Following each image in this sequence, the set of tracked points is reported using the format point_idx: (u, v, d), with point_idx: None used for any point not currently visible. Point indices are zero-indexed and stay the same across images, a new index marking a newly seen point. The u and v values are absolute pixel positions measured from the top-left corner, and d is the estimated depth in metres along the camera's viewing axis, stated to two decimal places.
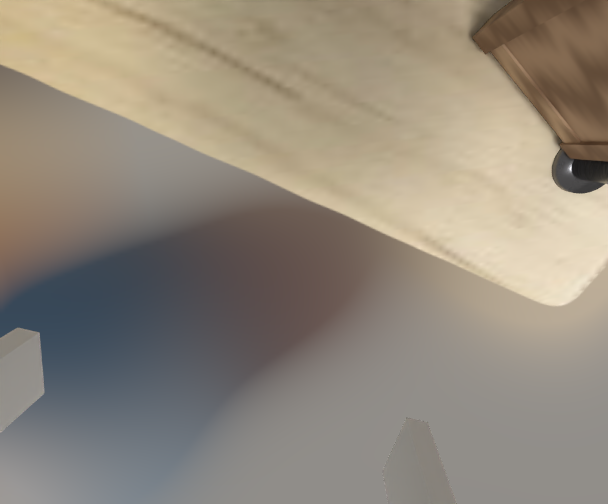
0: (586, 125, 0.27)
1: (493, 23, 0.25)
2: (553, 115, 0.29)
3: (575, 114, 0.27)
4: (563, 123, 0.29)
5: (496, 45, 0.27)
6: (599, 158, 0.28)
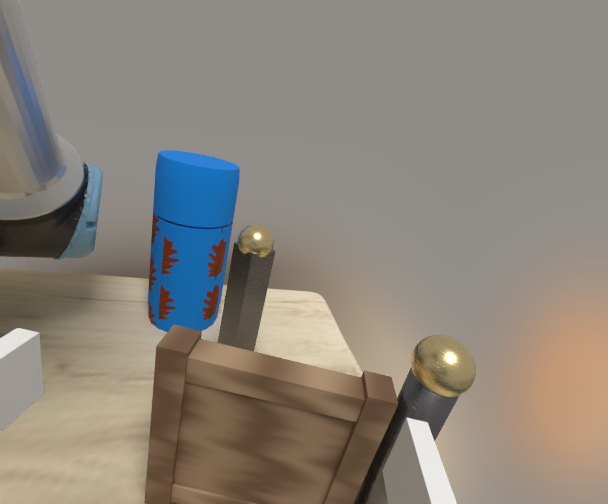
0: (299, 496, 0.24)
1: (148, 471, 0.24)
2: None
3: (281, 494, 0.25)
4: None
5: (168, 490, 0.25)
6: None
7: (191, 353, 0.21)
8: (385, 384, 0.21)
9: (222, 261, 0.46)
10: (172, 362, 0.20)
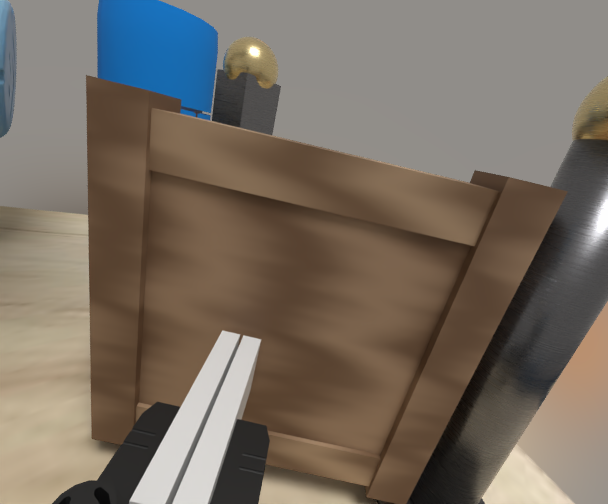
0: (353, 415, 0.14)
1: (93, 377, 0.14)
2: (306, 450, 0.15)
3: (323, 414, 0.14)
4: (329, 448, 0.15)
5: (129, 411, 0.15)
6: (426, 449, 0.14)
7: (159, 109, 0.11)
8: None
9: None
10: (120, 117, 0.10)
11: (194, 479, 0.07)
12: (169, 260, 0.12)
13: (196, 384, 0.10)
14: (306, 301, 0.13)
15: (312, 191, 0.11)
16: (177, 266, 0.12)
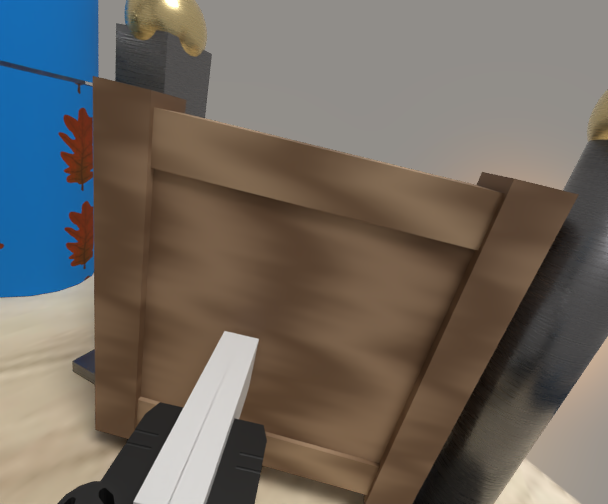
0: (351, 421, 0.14)
1: (97, 369, 0.14)
2: (303, 454, 0.15)
3: (321, 417, 0.14)
4: (327, 453, 0.15)
5: (130, 405, 0.15)
6: (426, 460, 0.14)
7: (162, 108, 0.11)
8: None
9: (91, 156, 0.27)
10: (124, 116, 0.10)
11: (190, 478, 0.07)
12: (170, 257, 0.12)
13: (199, 385, 0.10)
14: (304, 302, 0.12)
15: (310, 191, 0.11)
16: (178, 263, 0.12)
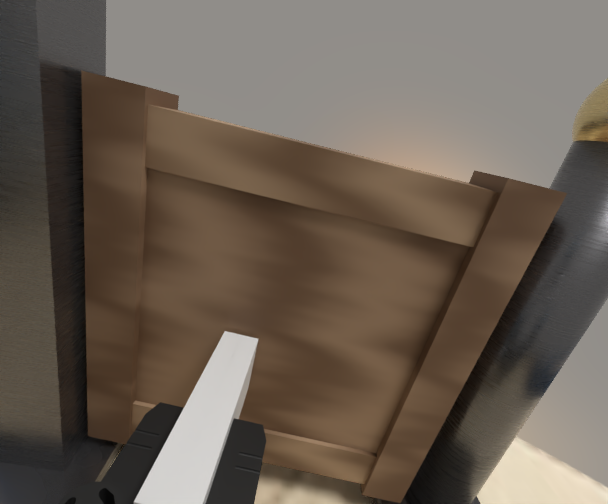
0: (349, 414, 0.14)
1: (88, 375, 0.14)
2: (302, 448, 0.15)
3: (320, 412, 0.14)
4: (325, 447, 0.15)
5: (125, 409, 0.14)
6: (421, 448, 0.14)
7: (156, 105, 0.10)
8: None
9: None
10: (116, 113, 0.10)
11: (190, 478, 0.07)
12: (166, 258, 0.12)
13: (199, 385, 0.10)
14: (303, 301, 0.12)
15: (310, 190, 0.11)
16: (174, 264, 0.12)
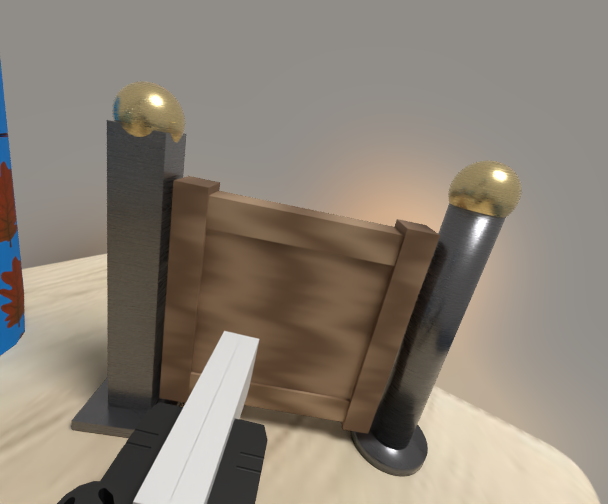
0: (331, 373, 0.22)
1: (163, 355, 0.22)
2: (301, 398, 0.23)
3: (312, 373, 0.23)
4: (317, 396, 0.23)
5: (186, 377, 0.22)
6: (377, 392, 0.22)
7: (211, 194, 0.19)
8: (422, 226, 0.20)
9: (13, 209, 0.25)
10: (191, 201, 0.18)
11: (191, 478, 0.07)
12: (215, 279, 0.20)
13: (198, 384, 0.10)
14: (298, 301, 0.21)
15: (300, 238, 0.19)
16: (220, 282, 0.20)
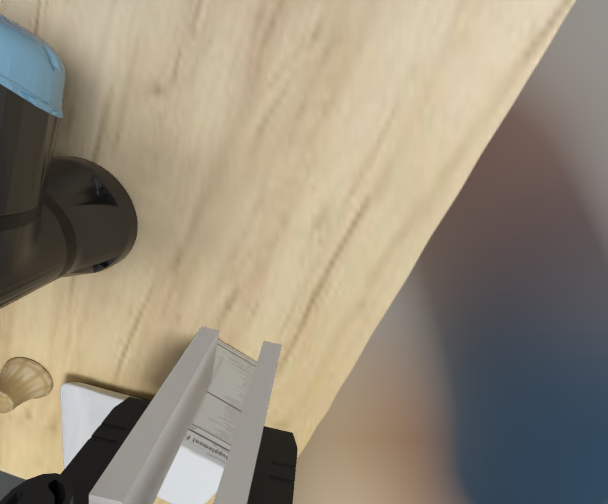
0: None
1: None
2: None
3: None
4: None
5: None
6: None
7: None
8: None
9: None
10: None
11: (229, 489, 0.07)
12: None
13: (169, 379, 0.10)
14: None
15: None
16: None
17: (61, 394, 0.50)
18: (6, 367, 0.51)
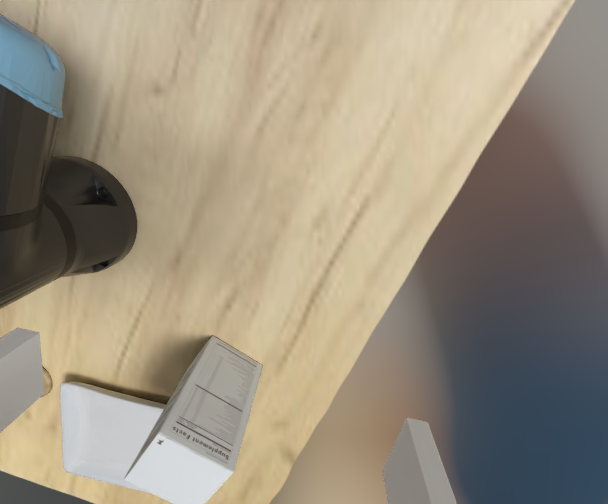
0: None
1: None
2: None
3: None
4: None
5: None
6: None
7: None
8: None
9: None
10: None
11: None
12: None
13: None
14: None
15: None
16: None
17: (61, 394, 0.50)
18: None
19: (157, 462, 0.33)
